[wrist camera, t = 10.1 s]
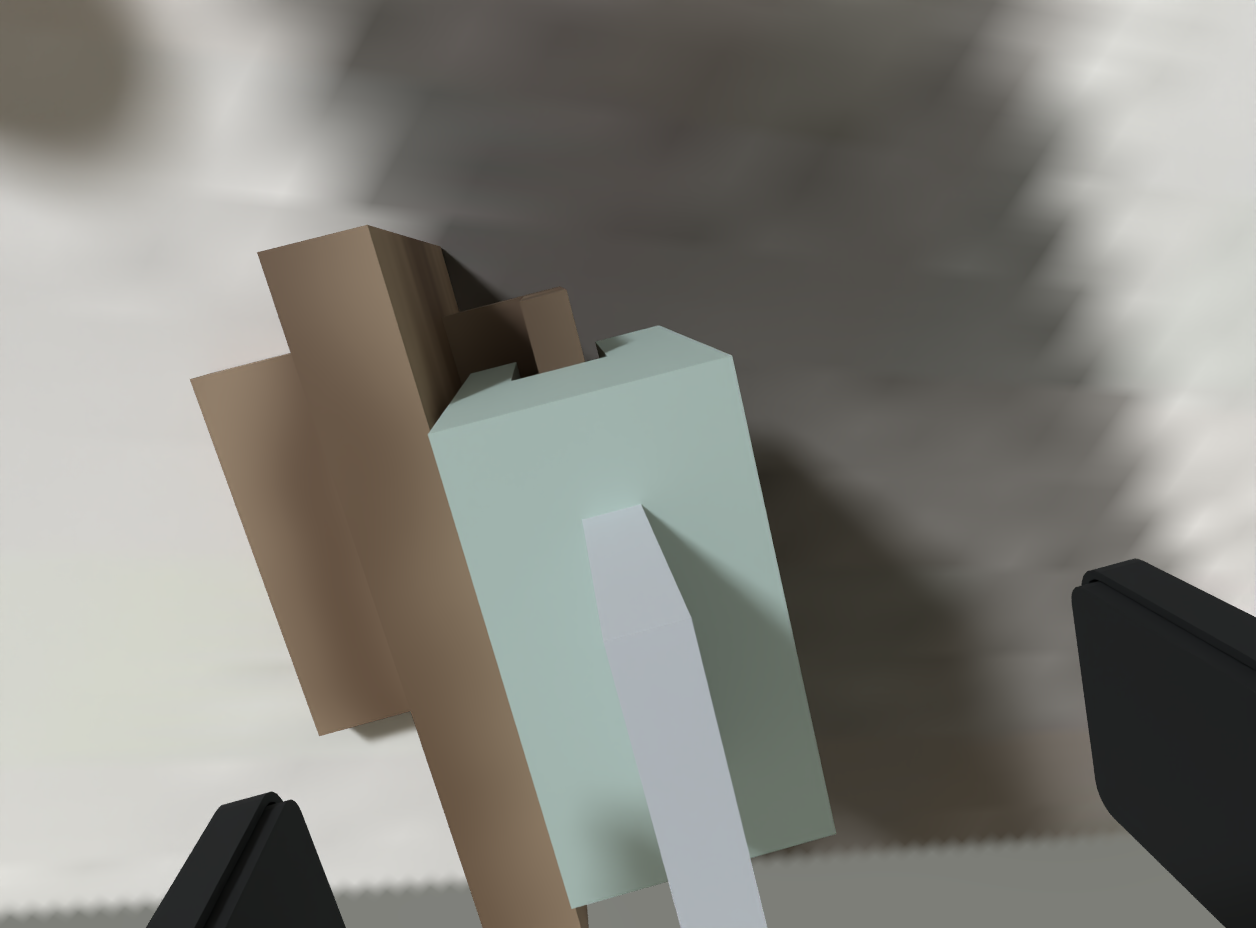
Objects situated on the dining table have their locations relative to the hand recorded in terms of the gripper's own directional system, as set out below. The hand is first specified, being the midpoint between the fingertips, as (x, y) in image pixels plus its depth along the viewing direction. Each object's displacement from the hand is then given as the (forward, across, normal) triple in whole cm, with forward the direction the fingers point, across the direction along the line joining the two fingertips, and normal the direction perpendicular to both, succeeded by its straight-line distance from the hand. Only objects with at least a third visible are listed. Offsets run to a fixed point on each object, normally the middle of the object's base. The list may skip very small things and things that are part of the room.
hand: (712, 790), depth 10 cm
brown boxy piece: (+20, +6, +1) cm, 20 cm away
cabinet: (+14, 0, 0) cm, 14 cm away
